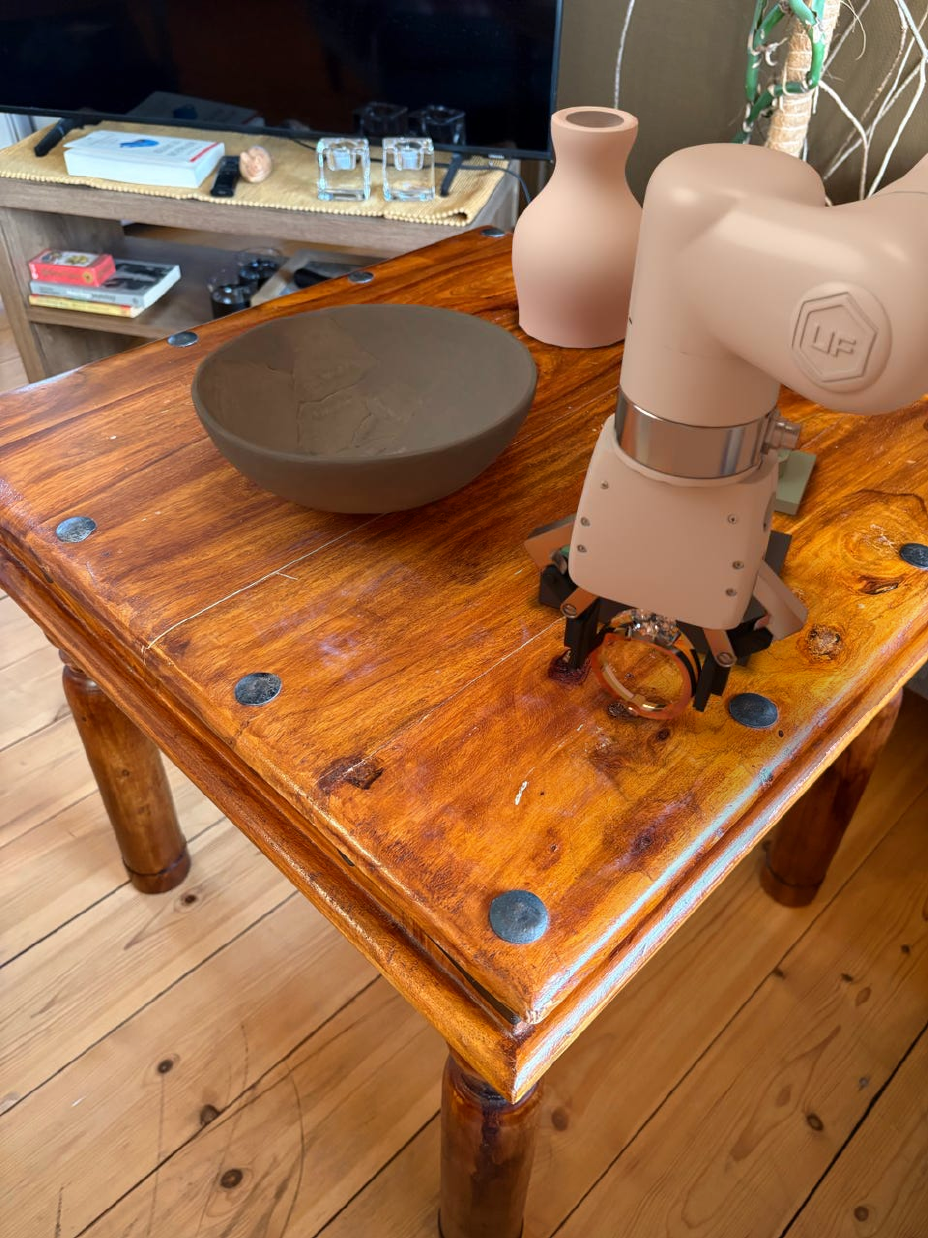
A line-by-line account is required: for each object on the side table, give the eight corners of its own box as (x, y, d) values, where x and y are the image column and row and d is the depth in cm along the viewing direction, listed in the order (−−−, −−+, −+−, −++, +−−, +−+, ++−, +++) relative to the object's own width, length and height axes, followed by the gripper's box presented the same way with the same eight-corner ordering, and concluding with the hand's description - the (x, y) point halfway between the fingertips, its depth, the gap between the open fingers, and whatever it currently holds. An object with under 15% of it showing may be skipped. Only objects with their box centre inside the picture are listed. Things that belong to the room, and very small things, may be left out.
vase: (480, 326, 103) (486, 119, 90) (555, 282, 112) (571, 87, 99) (597, 367, 97) (622, 151, 84) (667, 317, 106) (700, 114, 92)
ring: (695, 722, 62) (720, 628, 57) (669, 752, 60) (692, 657, 55) (602, 671, 65) (617, 578, 60) (575, 698, 64) (587, 604, 58)
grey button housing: (813, 466, 84) (822, 436, 82) (795, 516, 79) (804, 484, 77) (699, 438, 88) (705, 408, 86) (673, 484, 82) (679, 453, 80)
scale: (783, 567, 74) (795, 526, 72) (746, 668, 66) (758, 625, 63) (594, 514, 79) (599, 474, 76) (537, 602, 71) (541, 560, 68)
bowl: (288, 617, 69) (272, 498, 62) (166, 441, 86) (144, 333, 79) (593, 510, 79) (607, 398, 72) (431, 372, 96) (431, 270, 89)
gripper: (883, 428, 49) (796, 681, 61) (554, 353, 54) (533, 599, 66) (859, 507, 44) (770, 766, 56) (499, 415, 49) (487, 670, 61)
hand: (641, 674), depth 61 cm, fingers closed on ring, 7 cm apart
